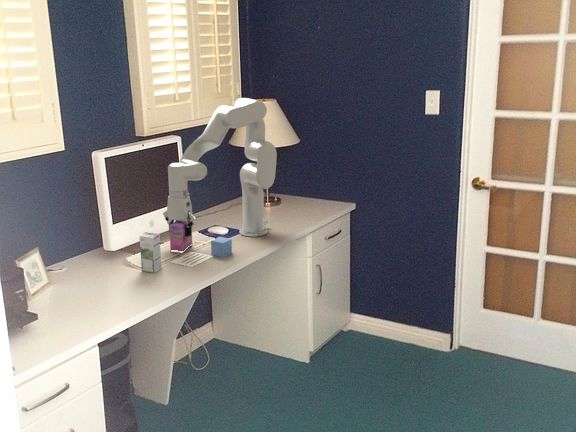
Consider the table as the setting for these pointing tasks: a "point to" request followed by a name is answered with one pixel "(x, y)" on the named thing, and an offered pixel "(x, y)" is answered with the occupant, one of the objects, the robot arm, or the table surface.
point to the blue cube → (221, 246)
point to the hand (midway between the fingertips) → (180, 234)
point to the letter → (191, 259)
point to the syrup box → (150, 252)
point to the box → (179, 236)
